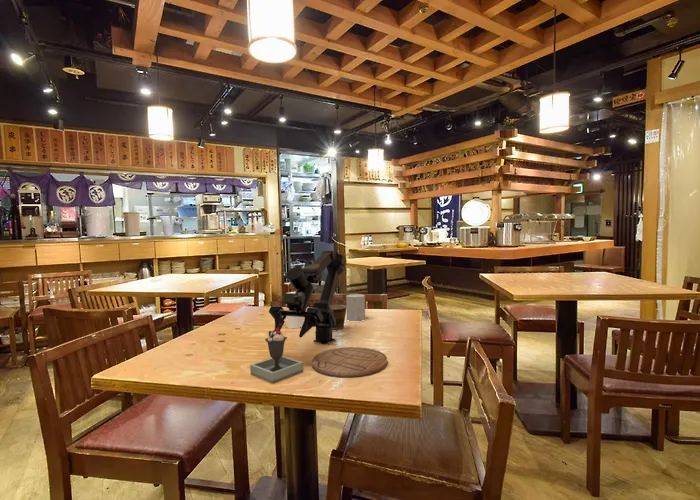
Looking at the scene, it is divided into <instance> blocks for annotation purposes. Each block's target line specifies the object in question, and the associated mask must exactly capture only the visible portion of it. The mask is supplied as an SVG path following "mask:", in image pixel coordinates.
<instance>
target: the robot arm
mask: <svg viewBox="0 0 700 500" xmlns="http://www.w3.org/2000/svg"><path fill="white" fill-rule="evenodd" d="M347 263H348V262H347V258H346V257H345V256H344V255H343V254H340V253H338V252H336V251H335V250H331V249H330V250H323V251H322V252H321V254H320V256H319V257H318V258H317V259H316V260H315V261H313V263H311V264H309V265H306V266H304V267H302V265H300V264H295V266H294V267H292V268H290V269H289V270H288V271H287V272H286V279H287V280H288V282H289V283H290V285H291V286H292V288H293V289H295V291H294V292H295V294H293V293H289V292H285V293H283V296H282V301H281V303H282V304H285V308H286V307H287V308H289V310H286V309H284V307H282V305H272V306H270V307H269V310H268V313H269V314H270V315H271V317H272V319H274V330H276V328H278V327H279V330H280V331H281V330H282V328H283V326H284V324H285V323H286V322H285V320H286V316H295V317H304V323H303V325H302V328H300V330H299V334H298V337H299V338H303V336H305V334H307V333H308V331H310V330H311V329H312V328H314V327H315V330H314V331H315V339H313V342H314V343H319V344H323V345H326V344H329V343H332V342H335V341H336V339H335V338H333V330H332V327H335V325H336V319H335V317H334V316H333V310H332V308H331V305H332V304H333V303H332V302H333V298H334V294H335V290H336V287H337V283H338V279H339V276H340V275H341V274H342V273H343V272H344V271H345V268H346V266H347ZM325 269H326V270H327V273H326V276H325V281H324V285H323V287H322V288H323V289H322V291H321V296H320V299H319V301H318V302H314V303H313V306H310V305H311V303H310V300H311V297H312V295H314V294H316V290H315V288H314V286H313V284H319V283H320V281H321V280H322V277H323V274H322V273H323V272H324V270H325ZM286 304H287V305H286ZM280 324H281V325H280Z"/></svg>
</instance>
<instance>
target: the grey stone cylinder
mask: <svg viewBox="0 0 700 500" xmlns="http://www.w3.org/2000/svg"><path fill="white" fill-rule="evenodd" d="M345 298H346V299H345V300H346V301H345V302H346V305H345V306H346V321H347V320H349V321H362V320H365V319H366V300H365V299H366V295H365V294H361V293H352V294H350V293H349V294H347V295H345ZM349 321H348V322H349ZM365 321H366V320H365ZM362 322H363V321H362Z"/></svg>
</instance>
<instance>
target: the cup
mask: <svg viewBox="0 0 700 500" xmlns="http://www.w3.org/2000/svg"><path fill="white" fill-rule="evenodd" d="M295 292H296V291H291V292H288V293H293V294H295ZM286 305H287V304H285V310H289V308H287V307H286ZM285 320H286V322H285V323H286V328H287V327H288V329H290V328H296V329H301V328H300V327H302V325H303V323H304V317H295V316H286V319H285Z"/></svg>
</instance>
